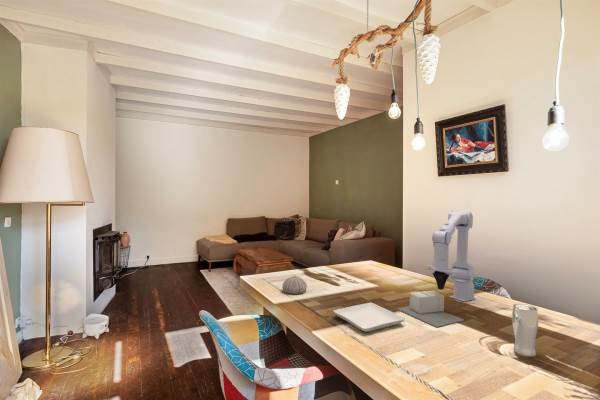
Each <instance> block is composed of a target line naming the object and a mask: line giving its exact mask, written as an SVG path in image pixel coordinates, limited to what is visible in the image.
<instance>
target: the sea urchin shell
mask: <svg viewBox="0 0 600 400" xmlns="http://www.w3.org/2000/svg"><path fill="white" fill-rule="evenodd" d="M281 287H282V290H283V292H285V293H287V294H290V295H298V294H299V295H301V294H304V293H305V292H306V291H307V289H308V284H307V283H306V281H305V280H304V279H303V278H302V277H300V276H297V275H294V276H288V278H286V279H285V280H284V281H283V283H282V286H281Z"/></svg>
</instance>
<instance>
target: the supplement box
mask: <svg viewBox="0 0 600 400" xmlns="http://www.w3.org/2000/svg"><path fill="white" fill-rule="evenodd" d="M409 306H410V308H411V309H412V310H414V311H416V312H418V313H419V314H422V313H431V312H440V311H443V312H445V295H444V294H441V293H439V292H437V291H435V290H426V291H414V292H412V291H411V292H409Z"/></svg>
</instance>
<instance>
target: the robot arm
mask: <svg viewBox="0 0 600 400" xmlns="http://www.w3.org/2000/svg"><path fill="white" fill-rule="evenodd" d="M447 216H448V217H447V218H448V219H447V220H448V221H447V222H444V223H442V225H441V226H440V228H439V229H438V230H435V231H434V232H432V236H431V237H432V238H431V242H432V246H433V256H434V257H433V261H434V262H433V263H434V264H433V265H432V264H426V267H425V268H426V270H430V271H433V272H432V275H433V277H434V280H435V282H436V285H437V289H438V290H445V286H446V282H447V280H448V279H449V277H450V278H451V279H452V281H453V294H452V295H449V298H452V299H455V300H458V301H461V302H468V301H473V300H476V297H475V285H474V282H473V280H474V278H475V272H474V271H475V270H474V266H473V264H471V263H470V262H469V261H468V251H469V250H468V249H469V246H468V245H469V230H470V229H472V228H473V225H474V224H473V223H474V215H473V213H472V212H471V211H458V210H457V211H454V210H450V211H449V213H448V215H447ZM456 230H457V238H456V240H457V242H456V243H457V244H456V261H453V263H451V264H450V268H449V247H450V246H449V245H450V244H451V240H452V237H453V234H454V233H455V232H456Z"/></svg>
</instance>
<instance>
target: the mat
mask: <svg viewBox="0 0 600 400" xmlns="http://www.w3.org/2000/svg"><path fill="white" fill-rule="evenodd" d="M396 311H399V312H401V313H403V314H405V315H408V316H410V317H412V318H414V319H415V320H416V319H417V320H418V321H421V322H423V323H425V324H428V325H429V326H432V327H434V328H437V329H438V328H443V327H446V326H450V325H454V324H459V323H462V322H464V321H465V319H463V318H461V317H458V316H456V315H453V314H451V313H447V312H445V311H440V312H431V313H422V314H419V313H418V312H416V311H414V310H412V309H411V308H410V305H408V306H402V307H397V308H396Z"/></svg>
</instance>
